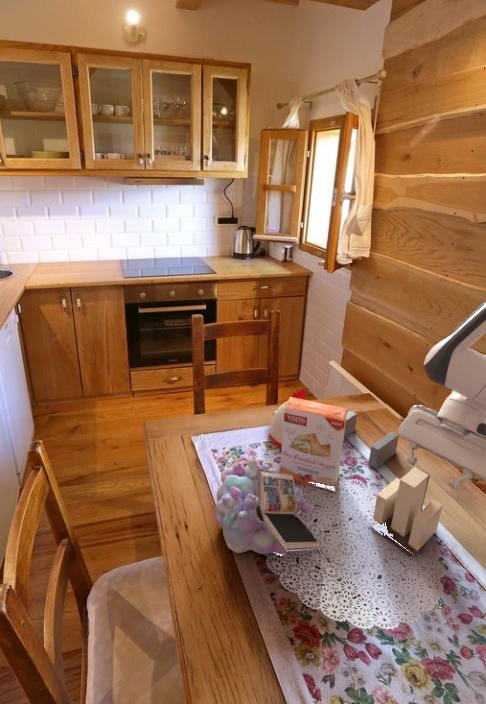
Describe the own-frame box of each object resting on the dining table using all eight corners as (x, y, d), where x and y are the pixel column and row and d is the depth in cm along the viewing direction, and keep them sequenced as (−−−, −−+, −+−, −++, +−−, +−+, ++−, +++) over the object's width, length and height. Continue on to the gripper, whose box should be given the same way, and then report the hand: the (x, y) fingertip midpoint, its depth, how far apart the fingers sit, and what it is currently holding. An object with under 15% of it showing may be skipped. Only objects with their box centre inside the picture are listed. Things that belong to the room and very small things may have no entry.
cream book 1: (400, 507, 92) (405, 482, 90) (381, 525, 87) (385, 499, 85) (392, 501, 93) (397, 477, 91) (372, 519, 89) (377, 494, 86)
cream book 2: (436, 530, 86) (443, 505, 84) (417, 551, 81) (423, 524, 79) (427, 524, 88) (433, 499, 85) (408, 544, 83) (413, 518, 80)
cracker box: (278, 478, 102) (283, 407, 95) (284, 463, 108) (289, 395, 100) (335, 494, 98) (345, 420, 90) (338, 477, 103) (348, 406, 95)
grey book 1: (355, 430, 121) (357, 413, 119) (334, 443, 115) (336, 426, 113) (349, 427, 123) (351, 410, 121) (328, 440, 117) (330, 422, 115)
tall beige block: (419, 522, 88) (430, 474, 84) (404, 537, 84) (414, 488, 80) (405, 513, 90) (415, 466, 86) (390, 527, 87) (399, 479, 82)
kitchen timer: (327, 438, 118) (332, 393, 113) (296, 458, 109) (300, 411, 104) (290, 417, 128) (293, 375, 123) (259, 434, 119) (261, 390, 114)
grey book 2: (395, 453, 112) (399, 435, 110) (375, 468, 106) (378, 449, 104) (388, 449, 113) (392, 431, 111) (368, 464, 107) (371, 445, 105)
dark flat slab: (435, 531, 88) (436, 526, 87) (411, 557, 82) (412, 552, 81) (395, 506, 94) (396, 501, 94) (371, 528, 88) (372, 523, 88)
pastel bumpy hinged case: (217, 469, 99) (211, 441, 85) (306, 468, 98) (315, 440, 84) (215, 565, 86) (208, 551, 72) (317, 566, 85) (330, 552, 71)
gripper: (411, 396, 97) (383, 446, 95) (509, 438, 82) (478, 499, 80) (417, 406, 101) (390, 454, 99) (511, 448, 86) (482, 506, 84)
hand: (430, 475), depth 89 cm, fingers open, 8 cm apart
